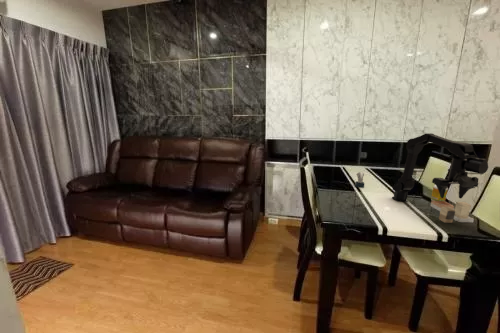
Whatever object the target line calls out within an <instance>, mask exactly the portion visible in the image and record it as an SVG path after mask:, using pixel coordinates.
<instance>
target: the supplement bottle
mask: <svg viewBox="0 0 500 333" xmlns="http://www.w3.org/2000/svg"><path fill="white" fill-rule="evenodd" d="M448 190H449V187H448V188H447V189H446V190H445V194H444V197H443V198H441V196H440V193H439V191H438V188H437V186H436V185H435V184H434V185H433V187H432V192H431V197H430V200H431V202H432V201H445V202H446V198H447V194H448Z"/></svg>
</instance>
